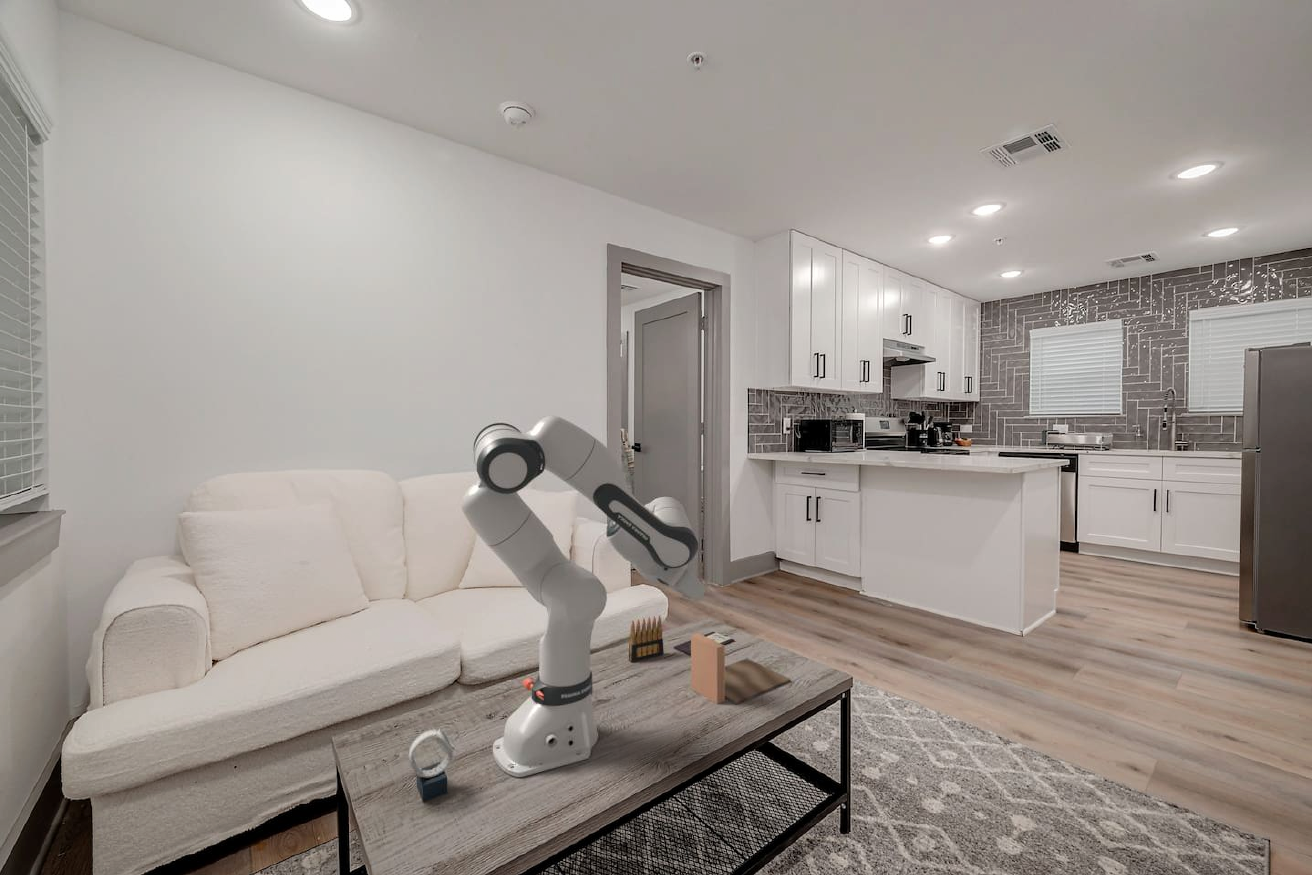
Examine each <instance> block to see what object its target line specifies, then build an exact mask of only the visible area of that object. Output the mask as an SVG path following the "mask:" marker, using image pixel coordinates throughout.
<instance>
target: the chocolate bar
mask: <svg viewBox="0 0 1312 875" xmlns="http://www.w3.org/2000/svg"><path fill="white" fill-rule="evenodd" d="M703 636H705V637H707V638H709V639H711V640H713V641H716V642H718V643H720V644H722V645H724V646H727V645H729V644H731V643H733V642H735V639H733V638H730V637H729V636H726V635H723V634H721V633H718V632H715V631H712V632H709V633H706V634H703ZM673 650H677V651H678V652H680V653H683V654H685V655H687V656H690V657H691V639H690V640H688V641H685V642H683V643H680V644H678V645H674V646H673Z"/></svg>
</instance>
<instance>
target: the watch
mask: <svg viewBox="0 0 1312 875" xmlns="http://www.w3.org/2000/svg"><path fill="white" fill-rule="evenodd" d="M431 738H435V741H436V742H437V744H438V745H439V747H440V748H441V749H442V751H443V752H444V753H445V754H446V755H445V757H444V759H443V760H442V761H441V762H436V763H433V764H431V765H428V766H424V767H421V766H420V765H418V764H417V762H416V761H415V758H414V754H415V751H416V749H417V748H418V747H419V746H420V745H421V744H423V742H425V741H427V740H429V739H431ZM453 752H455V747H454V745H453V744H452V742H451V741H450V738H448V736H447V735H446V733H444V732H443V730H441V728H439V729H438V730H437V729H435V728H434V729H429V730H426V731H424V732H422V733H420V734H419V735H418V736H416V738H415V739H414V740H413V741H412V743H411V745H410V746H409V750H408V761H409V763H410V766H411V768H412V770H413V772H414V773H415V774H416V775H415V777H416V788H417V790H418V794H419V796H420V798H421V800H422V801H421V802H422V803H425V802H428V801H429V802H430V801H431V800H434V799H437V798H439V797H442V796H444V795H447V794H448V775H447V774H446V772H445V771H446V769H447V768H449V765H450V764H451V762H452V760H453V758H454V753H453Z"/></svg>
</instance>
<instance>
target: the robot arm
mask: <svg viewBox="0 0 1312 875" xmlns="http://www.w3.org/2000/svg"><path fill="white" fill-rule="evenodd" d="M475 437H476V438H475V440H474V443H473V462H474V465H475V468H476V472H477V475H478V479H477V480H476V482H474V483H473V484H472V485H470V487H469V488H468V489H467V490H466V492H465V493H464V495H463V497H462V499H461V510H462V512H463V514H464V515H465V518H466V519H467V521H468V522H469V524H470V526H471V527H472V528H473V530H474V531H475V533H476V535H478V536H479V537H480V539H481V540H482V541H483V542H484V543H485V544H486V545H487V547H488V548H490V550H492V552H493V553H494V554H495V555H496V556H497V557H498V558H499V560H501V561H502V562H503V564H504V565H506V567H507V568H508V569H509V570H510V571H511V572H512V573H513V575H514V576H515V577H516V579H517V580H518V581H519V583H520V584H521V585H522V586H523V587H524V589H525V590H526V591H527V592H528V593H529V594H530V596H531V597H532V598H533V599H534V600H535V601H536V602H537V603H539V604H540V605H542V606H543V607H544V608H545V609H546V611H547V616H548V617H547V624H546V629H545V633H544V634H543V635H542V636H541V638H539V639H540V640H539V642H538V650H539V651H538V654H539V655H538V665H539V666H538V668H539V669H538V672H539V674H538V675H537V678H536V680H535V682H534V681H533V680H532V679H531V678H525V679H524V681H523V682H522V685H523V686H522V687H524V689H526V691H529V692H530V691H531V695H530V696H529V697H528V698H527V699H526V700H525V701H524V702H523V703H522V704H521V705H520V706H519V707H518V708H517V709H516V710H515V711H514V712H513V713H512V714H511V715H510V716H509V717H508V718H507V719H506V722H505V726H504V731H503V736H502V737H499V738H498V739H496V740H494V742H493V745H492V756H493V759H494V761H495V763H496V765H498V766H499V768H500V770H502V771H503V772H504V773H506V774H508V775H510V776H512V777H516V778H523V777H526V776H530V775H533V774H538V773H541V772H545V771H548V770H551V769H555V768H559V767H562V766H566V765H570V764H573V763H577V762H581V761H584V760H587V759H589V758H590V756H591V753H592V749H593V747H594V746H595V744H596V743H597V742H598V739H599V732H598V729H597V725H596V721H595V717H594V711H593V709H594V708H593V702H592V695H593V688H594V687H593V671H592V670H591V642H592V641H591V640H592V635H593V634H592V633H593V629H594V625H595V622H596V620H597V619H598V618H599V617H600V616H601V615H602V613H603V612H604V610H605V607H606V606H607V602H608V601H607V600H608V595H607V589H606V586H605V585H604V584H603V582H601V580H600V579H599V577H598V576H596V575H595V574H594V573H593V572H592V571H590V570H589V569H586V568H584V567H582V566H580V565H578V564H576V563H575V562H573V561H572V560H570V559H569V558H568V557H567V556H566V555H565V554H564V553H563V552H562V551H561V549H560V547H559V545H558V544H557V542H556V541H555V539H554V535H553V534H552V532H551V531H550V530H549V529H548V527H547V526H546V525H545V524H544V523H543V522H542V520H541V519H540V518H539V517H538V516H537V514H535V513H534V511H533V510H532V509H531V508H530V506H528V504H527V503H526V502H525V501H524V499H522V498H521V496H520V494H519V491H521V490H523V489H524V488H525V487H527V486H528V485H529V484H530V483H531V482H532V481H533V480H534V479H535V478H537V477H539V476H540V475H541V474H543V472H544V471H545V470H546V471H548V472H550V473H552V474H553V475H554V476H556V477H557V478H559V479H560V480H562V481H563V482H565V483H566V484H567V485H568V486H570V487H571V488H573V489H575V490H576V491H577V492H578V493H580V494H581V495H583V496H584V497H585V498H587V499H588V500H589V502H591V503H592V504H593V505H595V506H596V507H597V508H598V509H599V510H600V511H602V512H603V514H605V516H606V517H608V518H610V519H609V521H608V523H607V525H606V532H605V533H606V538H607V540H608V542H609V543H610V545H611V546H612V547H613V548H614V550H615V551H616V552H617V553H618V554H619V555H620V556H621V557H622V558H623V559H624V560H625V561H627V562H629V563H631V565H632V567H633V568H634V569H635V570H636V571H637V572H638V573H639V574H640V575H641V576H642V577H643V578H644V579H645V580H646V581H647V582H649V583H652V584H653V583H656V584H659V585H660V584H661V585H662V586H665V587H667V588H669V589H671V590H673V591H675V592H677V593H679V594H680V595H681V596H682V597H684V598H687V599H688V600H692V601H694V602H696V603H697V602H699V601H700V600H701V599H702V597H703V596H704V594H705V592H706V587H705V585H703V583H702V582H701V581H700V579H698V577H697V576H696V575H695V573H694V572H693V571H691V569H689V568H688V567H689V563H690V562H692V560H693V559H694V557H695V556H696V554H697V553H698V550H699V542H698V540H697V537H696V536H695V533H694V532H693V530H692V526H691V524H690V521H689V518H688V516H687V513H686V510H685V508H684V505H683V503H682V502H681V501H680V500H679V499H677V498H676V497H673V496H667V495H663V496H659V497H655V498H654V499H652V500H651V501H650V502H648V503H647V504H645V505H644V504H642V503H641V502H640V501H639V500H638V499H637V498H636V497H635V495H634V494H633V493H632V492H631V490H630V488H629V486H628V484H627V481H626V480H625V477H624V475H623V473H622V470H621V467H620V465H619V461H618V460H617V458H616V457H615V455H614V454H613V453H612V452H611V451H610V450H609V449H608V448H607V447H606V446H605V445H604V443H602V442H601V441H600V440H599V439H598V438H596V437H595V436H593V435H592V434H590V433H589V432H588V431H586V430H584V429H583V428H581V427H579V426H578V425H576V424H575V423H572V422H570V421H569V420H567V419H564V418H562V417H560V416H557V415H549V416H546V417H543V418H541V419H540V420H538V422H536V423H535V424H534V425H533V427H532V429H530V430H528V431H526V432H521V431H520V430H519V429H518V428H517V427H516V426H514V425H511V424H509V423H506V422H505V423H504V422H495V423H492V424H489V425H487V426H485V427H483V428H482V429H481V430H480V431H479V433H478V434H477V435H476V436H475Z"/></svg>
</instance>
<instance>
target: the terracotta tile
mask: <svg viewBox="0 0 1312 875" xmlns="http://www.w3.org/2000/svg"><path fill="white" fill-rule="evenodd" d="M703 635H704V634H703ZM703 635H702V634H701V633H699V632H698V633H694V634H690V640H691V656H690V688H691V689H692V690H693V691H695V692H697V693H698V694H700V695H701V696H703V697H705V698H707V700H709V701H712V702H713V703H714V704H716V705H719V704H722V703H723V702H725V699H726V698H725V666H726V663H725V661H726V659H725V654H726V653H725V650H726V649H725V648H726V645H722V644H720V643H718V642H716V641H713V640H711V639H709V638H707V637H705V636H703Z"/></svg>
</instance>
